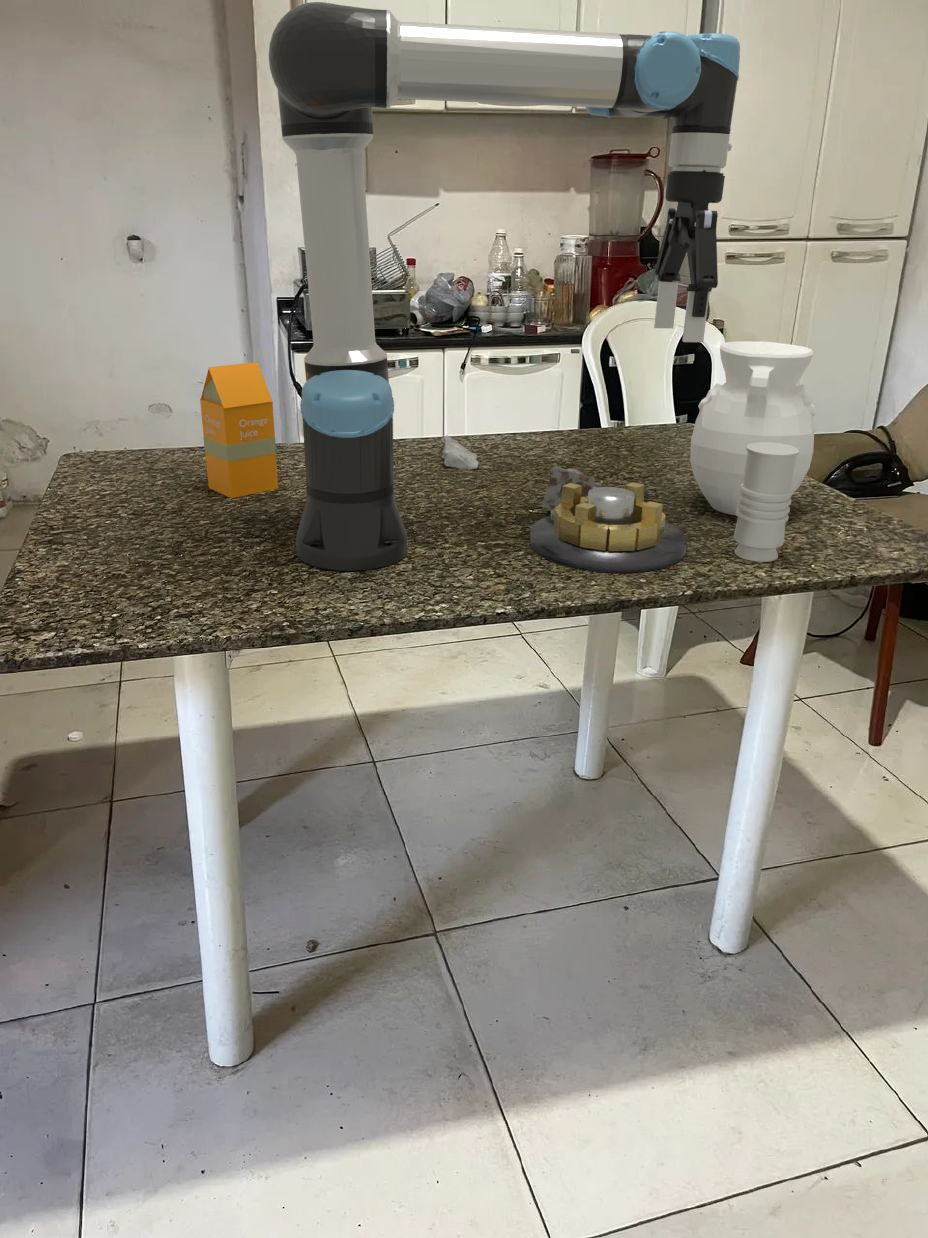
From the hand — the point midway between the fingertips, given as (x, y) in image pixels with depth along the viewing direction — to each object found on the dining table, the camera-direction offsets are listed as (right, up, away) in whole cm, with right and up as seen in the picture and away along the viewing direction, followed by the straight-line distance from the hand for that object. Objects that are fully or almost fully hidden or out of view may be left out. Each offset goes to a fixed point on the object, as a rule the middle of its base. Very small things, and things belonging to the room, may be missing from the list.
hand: (677, 334), depth 135 cm
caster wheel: (-12, -24, +14) cm, 30 cm away
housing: (-10, -30, -1) cm, 32 cm away
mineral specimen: (-32, -12, +39) cm, 51 cm away
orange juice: (-67, -19, +21) cm, 73 cm away
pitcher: (+14, -23, +17) cm, 31 cm away
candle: (+10, -32, -3) cm, 33 cm away
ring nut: (-10, -28, -1) cm, 30 cm away
